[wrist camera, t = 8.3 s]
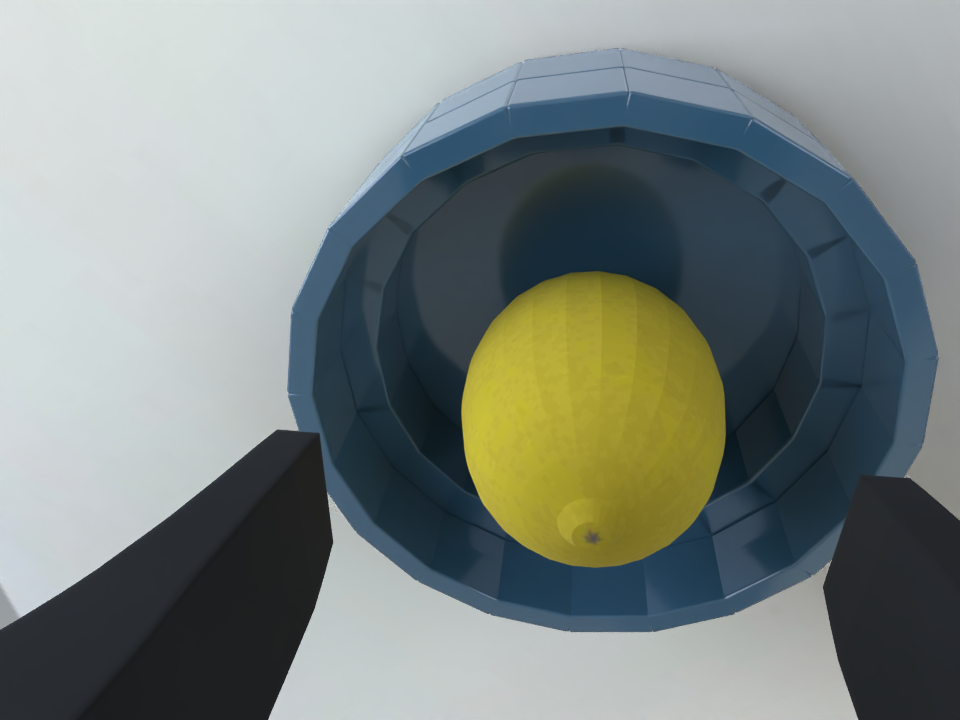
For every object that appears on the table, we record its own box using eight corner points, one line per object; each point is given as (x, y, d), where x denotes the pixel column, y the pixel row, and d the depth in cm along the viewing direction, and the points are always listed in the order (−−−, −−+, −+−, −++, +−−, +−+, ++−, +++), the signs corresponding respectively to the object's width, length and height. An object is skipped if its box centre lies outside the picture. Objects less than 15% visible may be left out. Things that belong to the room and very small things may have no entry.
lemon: (731, 366, 20) (804, 605, 13) (541, 435, 22) (520, 675, 15) (649, 182, 18) (687, 355, 11) (445, 275, 20) (372, 472, 13)
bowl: (960, 336, 20) (1063, 457, 15) (565, 564, 25) (562, 698, 21) (632, -96, 16) (649, -94, 12) (253, 288, 21) (170, 384, 17)
